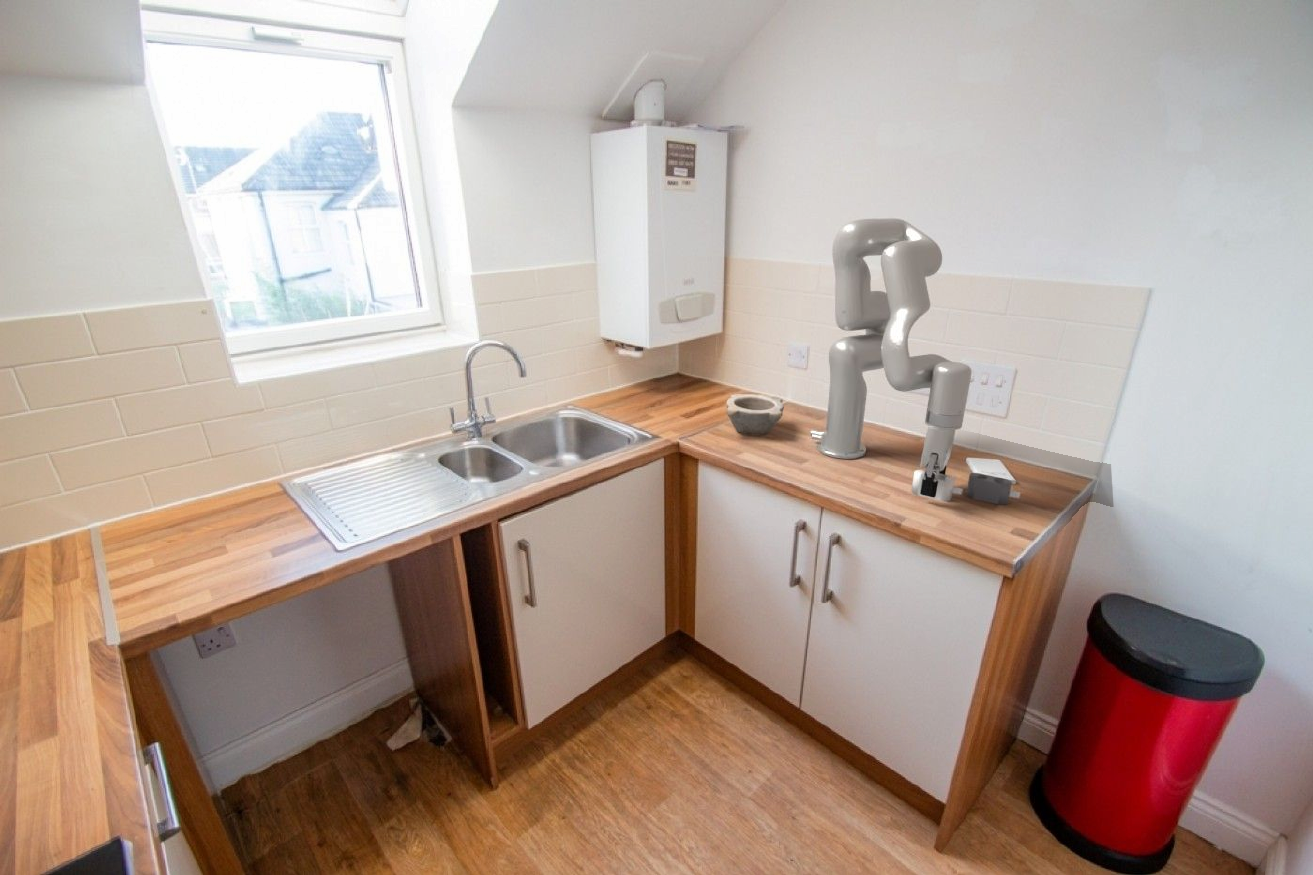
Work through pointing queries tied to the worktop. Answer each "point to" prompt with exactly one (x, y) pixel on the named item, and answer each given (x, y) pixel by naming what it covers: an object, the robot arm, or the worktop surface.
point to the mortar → (754, 413)
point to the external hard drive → (990, 468)
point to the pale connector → (943, 487)
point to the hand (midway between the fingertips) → (932, 487)
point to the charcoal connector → (990, 489)
